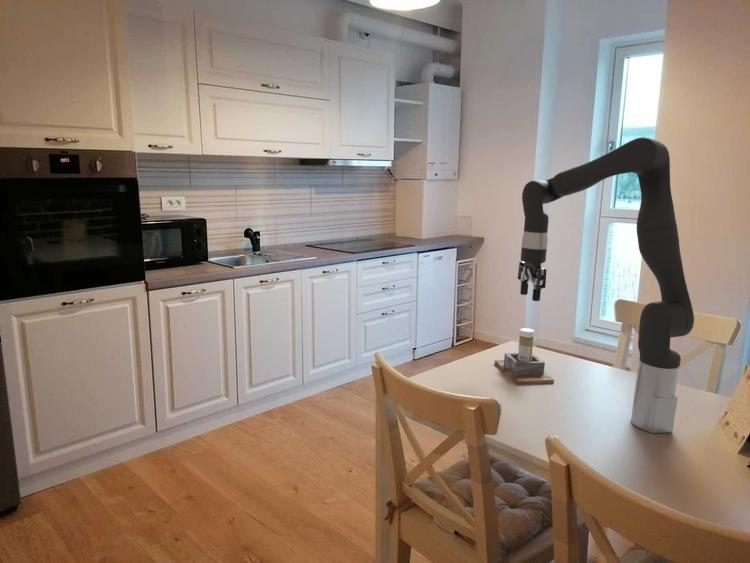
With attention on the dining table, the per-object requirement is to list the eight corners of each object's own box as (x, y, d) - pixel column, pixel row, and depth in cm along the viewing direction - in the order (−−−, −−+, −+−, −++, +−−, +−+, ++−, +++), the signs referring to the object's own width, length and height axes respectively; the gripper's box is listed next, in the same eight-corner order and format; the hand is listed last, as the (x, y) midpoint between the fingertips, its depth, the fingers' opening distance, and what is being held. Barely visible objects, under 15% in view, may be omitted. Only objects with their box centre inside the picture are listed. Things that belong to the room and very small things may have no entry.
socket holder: (553, 383, 168) (555, 367, 167) (517, 384, 166) (518, 368, 165) (528, 362, 185) (529, 348, 184) (494, 363, 183) (495, 349, 182)
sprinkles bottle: (533, 369, 175) (537, 330, 172) (526, 373, 172) (529, 332, 169) (521, 366, 178) (524, 326, 176) (513, 369, 175) (516, 329, 172)
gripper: (556, 249, 161) (551, 303, 164) (535, 243, 175) (530, 292, 178) (533, 249, 160) (528, 303, 163) (513, 243, 173) (509, 292, 177)
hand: (529, 297), depth 170 cm, fingers open, 8 cm apart
